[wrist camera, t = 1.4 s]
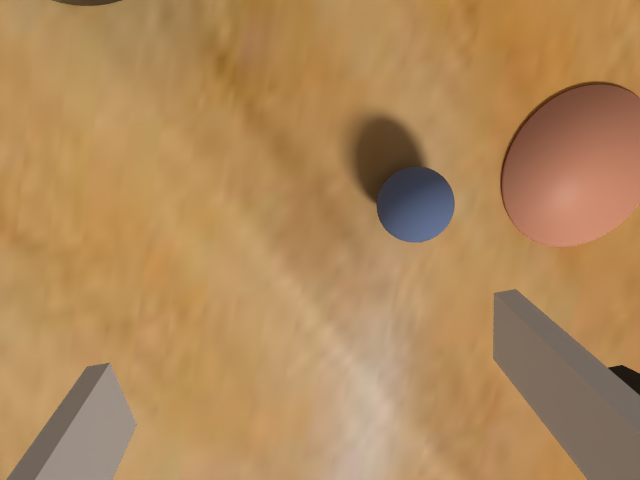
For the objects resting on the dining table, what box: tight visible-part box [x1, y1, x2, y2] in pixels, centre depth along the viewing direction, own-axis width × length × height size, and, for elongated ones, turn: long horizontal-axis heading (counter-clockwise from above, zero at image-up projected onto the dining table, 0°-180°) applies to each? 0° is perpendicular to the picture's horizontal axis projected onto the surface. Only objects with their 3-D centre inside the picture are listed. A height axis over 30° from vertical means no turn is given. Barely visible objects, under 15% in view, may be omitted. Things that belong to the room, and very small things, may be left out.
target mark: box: [502, 85, 640, 247], centre depth 32 cm, size 13×13×1 cm
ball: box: [377, 167, 455, 242], centre depth 28 cm, size 6×6×6 cm
